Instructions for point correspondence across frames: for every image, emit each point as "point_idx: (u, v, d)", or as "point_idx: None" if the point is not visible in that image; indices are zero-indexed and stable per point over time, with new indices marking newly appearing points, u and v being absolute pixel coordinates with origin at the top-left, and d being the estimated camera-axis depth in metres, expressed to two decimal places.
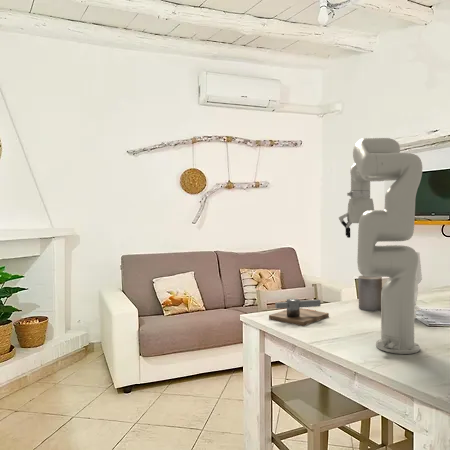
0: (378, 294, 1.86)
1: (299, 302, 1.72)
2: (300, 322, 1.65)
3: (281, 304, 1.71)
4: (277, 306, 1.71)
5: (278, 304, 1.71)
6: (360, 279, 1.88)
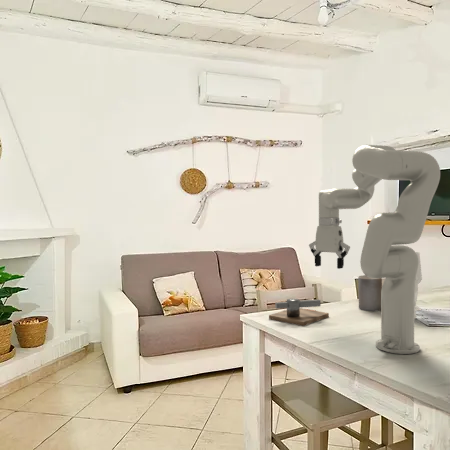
0: (378, 294, 1.86)
1: (299, 302, 1.72)
2: (300, 322, 1.65)
3: (281, 304, 1.71)
4: (277, 306, 1.71)
5: (278, 304, 1.71)
6: (360, 279, 1.88)
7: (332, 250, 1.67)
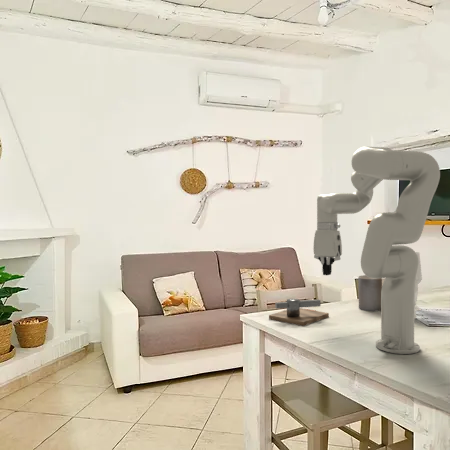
0: (378, 294, 1.86)
1: (299, 302, 1.72)
2: (300, 322, 1.65)
3: (281, 304, 1.71)
4: (277, 306, 1.71)
5: (278, 304, 1.71)
6: (360, 279, 1.88)
7: (330, 255, 1.66)
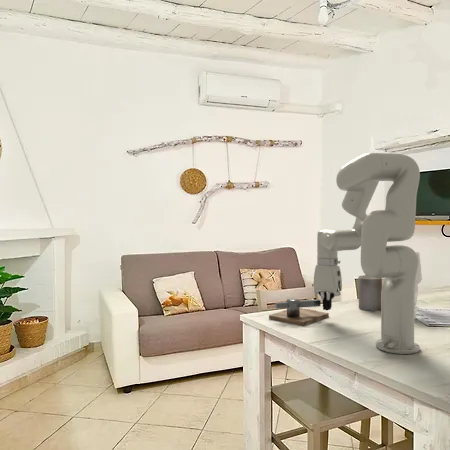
0: (378, 294, 1.86)
1: (299, 302, 1.72)
2: (300, 322, 1.65)
3: (281, 304, 1.71)
4: (277, 306, 1.71)
5: (278, 304, 1.71)
6: (360, 279, 1.88)
7: (330, 290, 1.67)
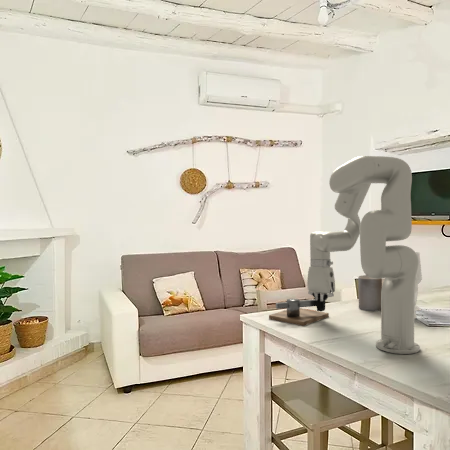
0: (378, 294, 1.86)
1: (299, 302, 1.72)
2: (300, 322, 1.65)
3: (282, 304, 1.71)
4: (278, 306, 1.70)
5: (279, 304, 1.70)
6: (360, 279, 1.88)
7: (324, 291, 1.69)
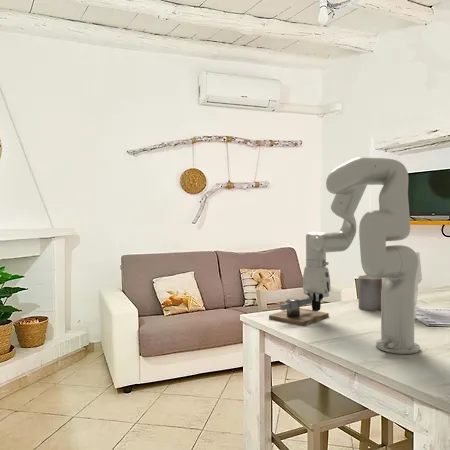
0: (378, 294, 1.86)
1: None
2: (300, 322, 1.65)
3: (286, 305, 1.69)
4: (284, 308, 1.68)
5: (284, 306, 1.68)
6: (360, 279, 1.88)
7: (319, 291, 1.70)
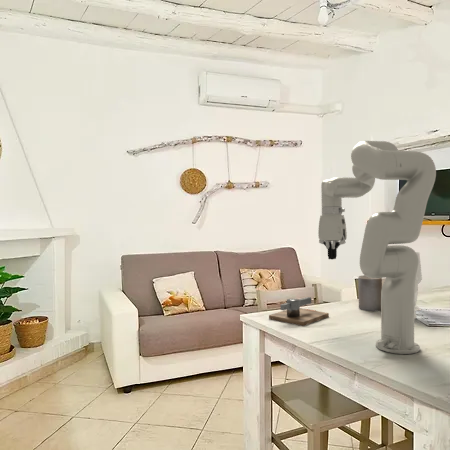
0: (378, 294, 1.86)
1: None
2: (300, 322, 1.65)
3: (286, 305, 1.69)
4: (284, 308, 1.68)
5: (284, 306, 1.68)
6: (360, 279, 1.88)
7: (336, 238, 1.69)
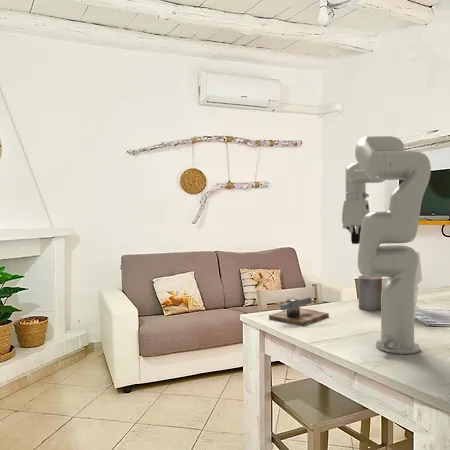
0: (378, 294, 1.86)
1: None
2: (300, 322, 1.65)
3: (286, 305, 1.69)
4: (284, 308, 1.68)
5: (284, 306, 1.68)
6: (360, 279, 1.88)
7: (359, 223, 1.72)
